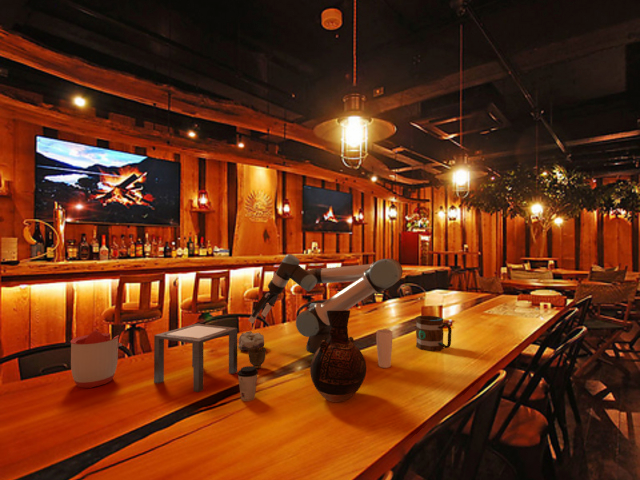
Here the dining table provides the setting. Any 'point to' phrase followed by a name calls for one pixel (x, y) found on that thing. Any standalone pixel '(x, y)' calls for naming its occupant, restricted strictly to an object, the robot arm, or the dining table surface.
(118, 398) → the dining table surface
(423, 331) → the mug
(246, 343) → the geode
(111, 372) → the citrus juicer
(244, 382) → the coffee cup
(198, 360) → the stand
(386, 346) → the drinking glass
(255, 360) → the brown rounded piece
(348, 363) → the ceramic vessel
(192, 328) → the trapdoor
